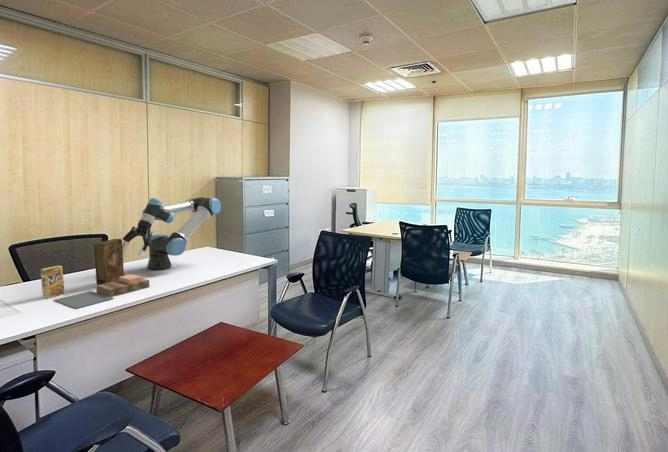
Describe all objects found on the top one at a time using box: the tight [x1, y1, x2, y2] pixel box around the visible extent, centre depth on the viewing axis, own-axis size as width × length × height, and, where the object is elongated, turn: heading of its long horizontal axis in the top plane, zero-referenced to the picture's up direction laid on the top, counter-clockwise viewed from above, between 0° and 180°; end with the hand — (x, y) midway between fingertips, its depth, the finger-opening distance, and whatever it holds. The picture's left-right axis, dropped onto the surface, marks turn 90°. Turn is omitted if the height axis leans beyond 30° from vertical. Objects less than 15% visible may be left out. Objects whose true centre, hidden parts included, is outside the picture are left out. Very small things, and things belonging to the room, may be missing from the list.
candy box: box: [40, 265, 66, 299], centre depth 205 cm, size 9×4×15 cm, turn 159°
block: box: [119, 273, 142, 284], centre depth 221 cm, size 7×10×2 cm
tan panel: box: [95, 277, 151, 298], centre depth 218 cm, size 22×14×4 cm, turn 149°
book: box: [93, 238, 125, 285], centre depth 229 cm, size 16×6×25 cm, turn 168°
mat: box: [53, 290, 114, 310], centre depth 200 cm, size 18×22×1 cm
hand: (131, 253), depth 234 cm, fingers open, 13 cm apart
